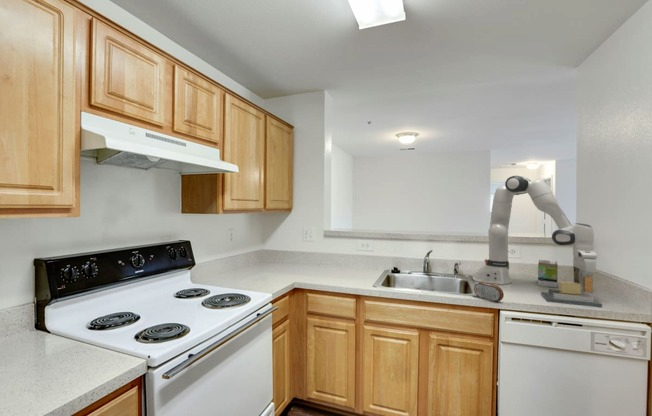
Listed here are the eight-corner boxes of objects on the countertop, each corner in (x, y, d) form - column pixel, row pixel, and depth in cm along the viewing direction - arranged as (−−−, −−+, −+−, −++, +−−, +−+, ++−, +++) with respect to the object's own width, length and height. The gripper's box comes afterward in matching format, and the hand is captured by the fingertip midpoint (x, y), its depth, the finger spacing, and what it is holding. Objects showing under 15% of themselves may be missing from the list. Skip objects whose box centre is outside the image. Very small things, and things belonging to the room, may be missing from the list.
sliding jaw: (548, 293, 164) (548, 274, 164) (547, 291, 166) (546, 273, 166) (592, 297, 156) (592, 277, 156) (590, 295, 159) (590, 276, 159)
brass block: (580, 299, 152) (580, 284, 152) (561, 298, 156) (561, 282, 156) (577, 297, 156) (577, 282, 156) (559, 296, 159) (559, 281, 159)
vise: (547, 301, 154) (547, 293, 154) (540, 294, 167) (540, 287, 167) (602, 307, 145) (602, 299, 145) (590, 299, 158) (590, 291, 158)
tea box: (557, 288, 181) (557, 264, 182) (537, 285, 187) (537, 262, 188) (557, 283, 193) (557, 260, 194) (538, 281, 199) (538, 259, 200)
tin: (504, 302, 153) (503, 286, 153) (500, 303, 151) (500, 287, 151) (476, 295, 166) (476, 280, 166) (473, 296, 164) (473, 281, 164)
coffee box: (573, 287, 184) (573, 261, 184) (586, 288, 181) (585, 261, 182) (579, 290, 175) (579, 263, 175) (593, 291, 173) (593, 264, 173)
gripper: (569, 250, 174) (569, 273, 174) (583, 255, 156) (583, 281, 156) (583, 250, 172) (583, 274, 172) (598, 255, 153) (599, 282, 153)
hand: (583, 278), depth 163 cm, fingers closed
